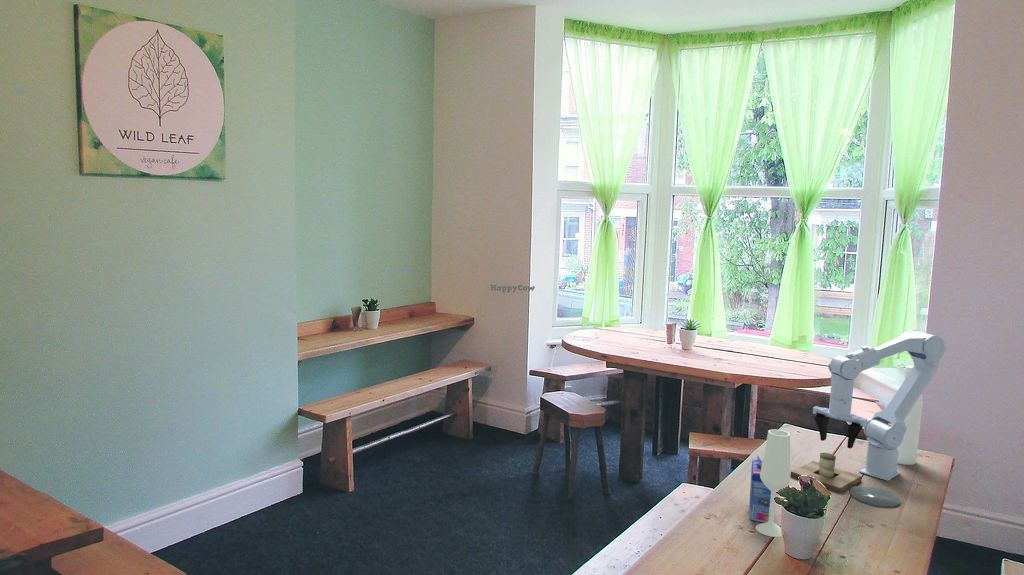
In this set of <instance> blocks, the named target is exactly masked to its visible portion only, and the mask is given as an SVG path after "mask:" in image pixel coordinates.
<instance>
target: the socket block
mask: <svg viewBox="0 0 1024 575" xmlns="http://www.w3.org/2000/svg"><path fill="white" fill-rule="evenodd" d="M819 462H820V461H815V460H812V461H810V462H808V463H805V464H804V465H802V466H799V467H798V468H795V469H793V470H790V478H794V479H796V478H797V480H799V479H798V477H799V476H801V475H807V476H811V477H814V478H816V479H817V480H818V481H820V482H821V483H822V484H823V485H824V486H825V487H826V488H827V489H826V488H825V489H826V490H829V489H830V491H833V492H835V491H836V492H835V493H838V494H842V493H843V492H845V491H846V490H848V489H849V488H850V489H851V488H852V487H854V486H855V485H856V484H857V485H858V483H860V482H862V477H863V476H862V475H860V474H857V473H854V472H850V471H847V470H843V469H841V468H838V467H835V468H834V478H832V479H830V478H827V477H824V476H821V475H818V472H819Z"/></svg>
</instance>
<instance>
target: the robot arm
mask: <svg viewBox="0 0 1024 575" xmlns="http://www.w3.org/2000/svg"><path fill="white" fill-rule="evenodd" d="M904 352H907V353H908V355H909V357H910V358H911V359H912V361H913V366H914V367H913V368H912V370H911V371H910V373H909V374H908V376H907V377H906V379H905V380H904V379H903V381H902V383H901V384H900V386H899V388H898V389H897V390H896V392H895V394H894V395H893V397H892V398H891V400H890V401H889V403H888V404H887V406H886V407H885V408H884V409H883V410H880V411H877V412H875V413H874V414H873V416H872V417H871V418H869V419H868V418H864V417H862V416H860V415H859V416H858V415H856V414H853V413H852V404H853V393H854V385H855V384H854V383H855V382H854V381H855V379H856V378H857V377H858V376H860V373H863V371H867V370H869V369H871V368H875V367H876V366H878V365H880V363H881V360H882V359H886V358H888V357H892V356H895V355H897V354H901V353H904ZM946 352H947V348H946V344H945V340H944V339H943V337H941V336H939V335H935V334H931V333H927V332H924V331H923V332H922V331H920V330H917V329H910V330H908V331H905V332H902V333H901V334H900V336H898V337H896V338H894V339H892V340H890V341H887V342H885V343H883V344H881V345H879V346H876V347H873V346H869V345H868V346H867V345H863V346H862V347H861V349H859V350H856V351H852V352H848V353H846V355H845V356H843V355H837V356H836V355H835V357H833V358H832V359H831V361H830V362H829V364H828V365H827V368H828V370H829V372H830V376H831V377H830V378H831V383H830V384H831V385H830V392H829V393H830V395H829V405H828V407H821V406H813V407H812V414H813V415H815V416H814V421H815V423H816V425H817V428H818V431H819V437H820V441H823V442H824V441H826V440H827V437H828V436H827V434H828V426H829V421H830V418H831V419H834V420H839V421H842V422H843V421H844V422H847V423H850V424H848V425H847V430H848V435H847V436H848V437H847V444H846V446H847V447H846V448H847V449H852V448H853V447H854V445H855V441H856V439H857V437H858V435H859V434H860V432H861V431H862V429H863V432H864V435H865V436H866V437H867V439H866V441H867V449H866V459H865V467H864V468H862V469H860V470H859V473H862V474H865V475H868V476H871V477H873V478H878V479H881V480H884V481H886V482H887V481H890V480H891V479H892V480H893V478H895V477H896V476H898V475H900V474H901V472H900V471H898V464H899V463H898V454H899V452H898V449H897V447H898V446H899V445H900V444H901V443H902V441H903V437H904V433H905V432H906V430H907V428H906V426H905V423H904V419H905V418H906V416H907V415H908V413H909V412H910V410H911V409H912V407H913V406H914V404H915V403H916V401H917V400H918V398H919V397H920V395H921V396H922V393H923V392H924V391H925V389H926V387H927V386H928V385H929V383H930V381H931V380H932V378H933V377H934V375H935V374H936V373H937V371H938V369H939V365H940V361H941V359H942V358H943V356H944V354H945V353H946Z"/></svg>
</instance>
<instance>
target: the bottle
mask: <svg viewBox="0 0 1024 575" xmlns="http://www.w3.org/2000/svg"><path fill="white" fill-rule="evenodd" d="M913 367H914V365H908V364H907V365H905V367H904V370H903V372H904V375H903V381H904V380H905V379H906V377H907V376H908V374H909V373H910V371H911V370H912V368H913ZM923 405H924V400H923V396H922V394H921V395H920V397H919V398H918V400H917V401H916V403H915V404H914V406H913V407H912V409H911V410H910V412H909V413H908V415H907V416H906V418H905V419H904V423H905V426H906V428H907V430H906V432H905V433H904V437H903V441H902V443H901V444H900V445H899V446H898V447H897V449H898V452H899V454H898V463H897V464H899V465H904V466H913V465H915V464H917V459H918V450H919V449H918V448H919V440H920V432H921V431H920V429H921V421H922V413H923Z"/></svg>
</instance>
